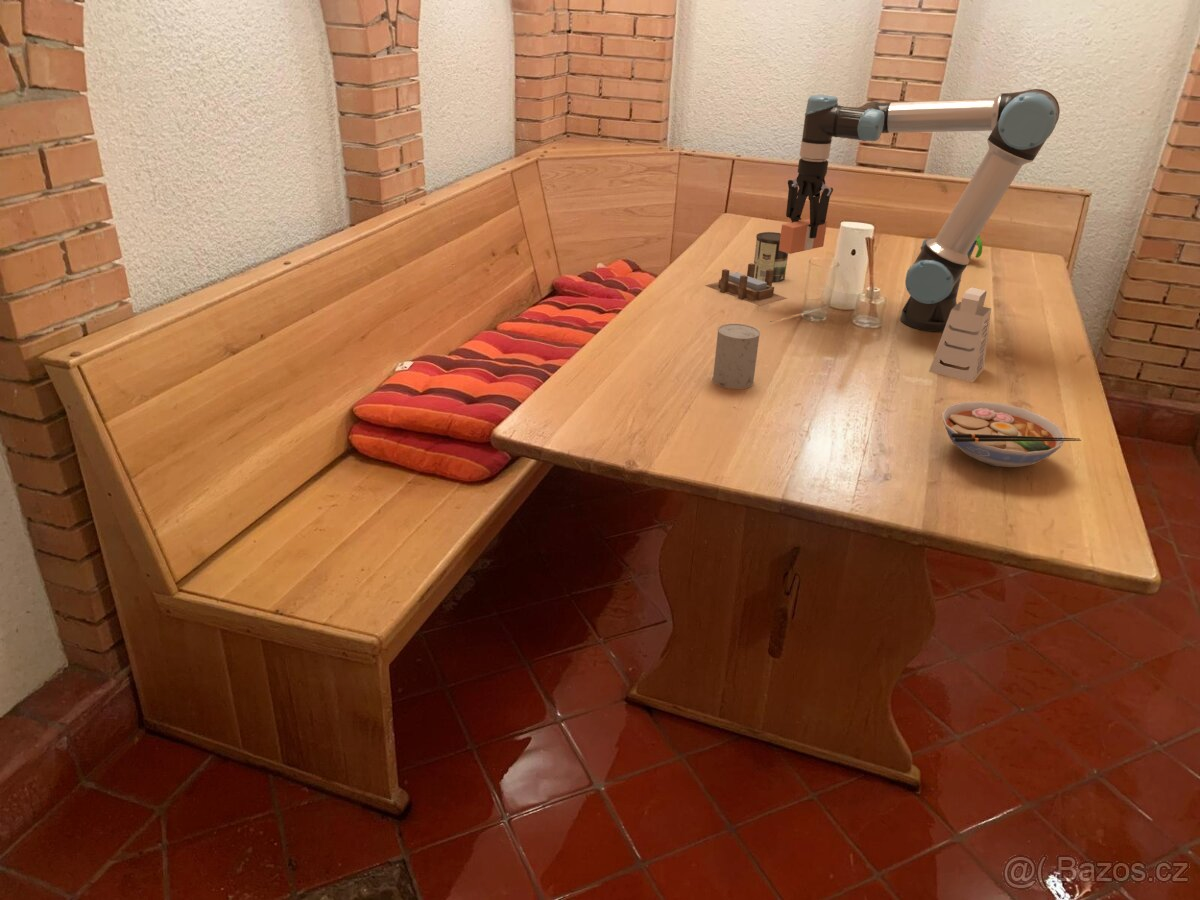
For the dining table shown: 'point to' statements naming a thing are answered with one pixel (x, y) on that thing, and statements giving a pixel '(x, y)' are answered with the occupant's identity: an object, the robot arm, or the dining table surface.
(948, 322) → the grater
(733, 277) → the blue-grey block
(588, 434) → the dining table surface
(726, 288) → the jig
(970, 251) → the snack cup
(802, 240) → the orange block
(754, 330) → the grey concrete cylinder
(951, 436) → the ramen bowl
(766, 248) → the coffee can
